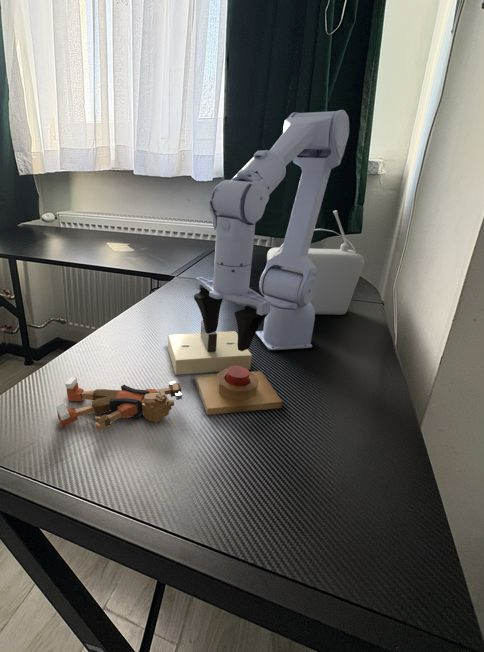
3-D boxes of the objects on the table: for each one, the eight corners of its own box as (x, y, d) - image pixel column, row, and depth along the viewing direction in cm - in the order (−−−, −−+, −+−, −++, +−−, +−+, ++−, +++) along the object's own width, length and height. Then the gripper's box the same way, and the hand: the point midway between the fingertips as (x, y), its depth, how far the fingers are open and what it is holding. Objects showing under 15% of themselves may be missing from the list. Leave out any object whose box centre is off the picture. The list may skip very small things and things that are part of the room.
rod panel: (234, 343, 78) (235, 329, 77) (250, 369, 69) (252, 354, 68) (167, 347, 76) (167, 333, 75) (175, 375, 67) (175, 359, 66)
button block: (260, 376, 67) (262, 361, 66) (281, 408, 59) (284, 392, 58) (194, 381, 65) (195, 366, 64) (206, 415, 57) (208, 398, 56)
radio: (342, 304, 100) (361, 209, 91) (354, 317, 93) (376, 214, 83) (259, 301, 101) (270, 206, 92) (265, 314, 93) (277, 211, 84)
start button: (244, 374, 63) (245, 365, 62) (251, 386, 60) (252, 377, 59) (223, 375, 62) (224, 366, 62) (229, 388, 59) (230, 378, 58)
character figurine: (79, 365, 63) (184, 368, 59) (84, 390, 65) (187, 394, 61) (41, 410, 52) (167, 417, 48) (49, 439, 54) (171, 448, 50)
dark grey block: (216, 351, 69) (217, 332, 67) (207, 352, 69) (208, 333, 67) (208, 336, 74) (209, 319, 73) (200, 337, 74) (201, 319, 73)
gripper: (183, 255, 61) (181, 330, 66) (251, 278, 51) (243, 365, 56) (214, 249, 65) (210, 320, 70) (283, 269, 55) (273, 351, 60)
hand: (226, 340), depth 63 cm, fingers open, 7 cm apart
